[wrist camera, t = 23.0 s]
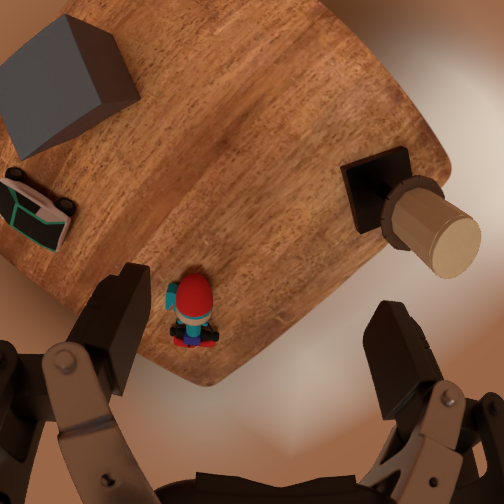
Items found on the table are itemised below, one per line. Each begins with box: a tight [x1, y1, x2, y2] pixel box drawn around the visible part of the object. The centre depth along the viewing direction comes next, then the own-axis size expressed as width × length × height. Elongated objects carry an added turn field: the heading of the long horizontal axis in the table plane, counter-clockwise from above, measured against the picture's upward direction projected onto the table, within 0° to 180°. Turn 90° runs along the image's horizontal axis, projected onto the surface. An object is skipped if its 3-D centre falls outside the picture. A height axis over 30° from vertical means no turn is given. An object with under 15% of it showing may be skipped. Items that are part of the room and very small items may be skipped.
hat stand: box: [340, 146, 412, 234], centre depth 30 cm, size 9×9×16 cm
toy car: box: [0, 167, 76, 252], centre depth 31 cm, size 6×12×5 cm, turn 54°
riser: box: [0, 14, 140, 161], centre depth 22 cm, size 9×9×12 cm
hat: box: [380, 175, 481, 279], centre depth 26 cm, size 8×8×8 cm
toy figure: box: [165, 274, 219, 348], centre depth 41 cm, size 8×5×15 cm
